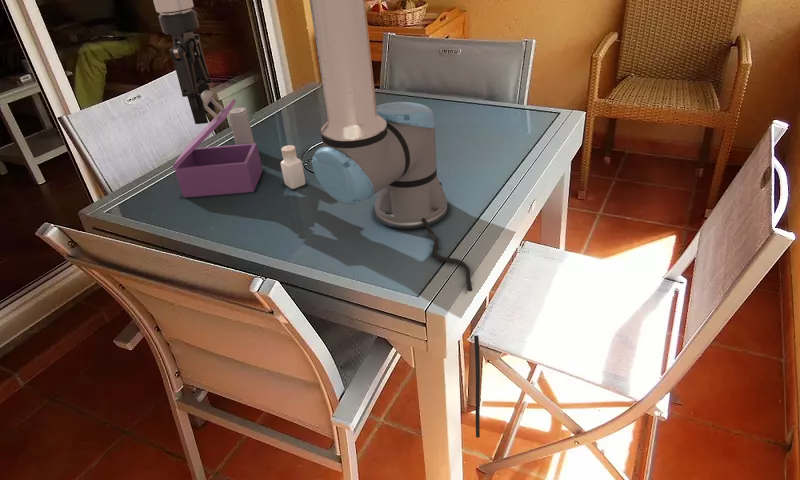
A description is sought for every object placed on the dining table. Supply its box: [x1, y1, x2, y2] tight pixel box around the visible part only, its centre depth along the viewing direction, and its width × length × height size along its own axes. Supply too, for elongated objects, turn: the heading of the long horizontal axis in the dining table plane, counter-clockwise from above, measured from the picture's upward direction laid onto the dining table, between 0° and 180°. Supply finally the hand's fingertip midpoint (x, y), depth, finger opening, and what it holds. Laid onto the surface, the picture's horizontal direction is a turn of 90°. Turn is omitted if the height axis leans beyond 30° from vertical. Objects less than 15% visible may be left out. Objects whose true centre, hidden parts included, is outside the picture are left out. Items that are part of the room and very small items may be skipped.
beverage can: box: [227, 106, 255, 145], centre depth 153 cm, size 5×5×12 cm
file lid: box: [172, 90, 237, 170], centre depth 132 cm, size 18×12×7 cm
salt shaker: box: [280, 144, 307, 190], centre depth 134 cm, size 4×4×10 cm
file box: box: [174, 142, 264, 198], centre depth 139 cm, size 17×12×7 cm
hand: (205, 117), depth 132 cm, fingers closed on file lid, 6 cm apart
